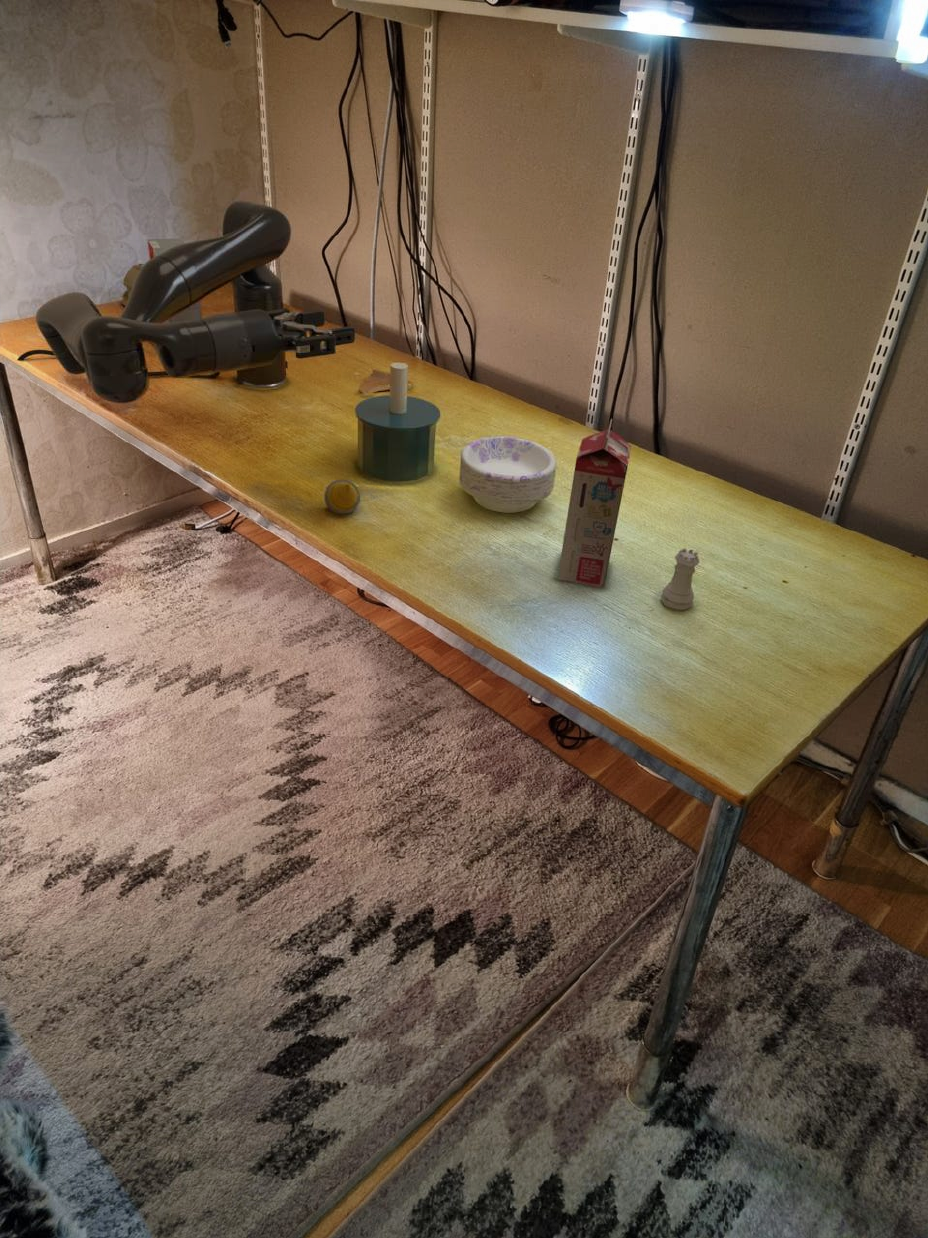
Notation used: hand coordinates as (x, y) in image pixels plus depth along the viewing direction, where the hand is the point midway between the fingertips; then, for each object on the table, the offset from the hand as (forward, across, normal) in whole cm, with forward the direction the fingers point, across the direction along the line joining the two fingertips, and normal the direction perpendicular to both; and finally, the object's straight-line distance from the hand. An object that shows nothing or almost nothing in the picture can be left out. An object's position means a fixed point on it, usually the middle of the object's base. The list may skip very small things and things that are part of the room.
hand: (338, 325), depth 128 cm
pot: (+11, 0, -25) cm, 28 cm away
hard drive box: (+5, -75, -26) cm, 79 cm away
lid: (+11, 0, -16) cm, 19 cm away
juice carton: (+15, +42, -26) cm, 51 cm away
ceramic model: (+8, -102, -26) cm, 106 cm away
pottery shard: (+30, -31, -26) cm, 50 cm away
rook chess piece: (+21, +54, -26) cm, 64 cm away
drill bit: (-5, +10, -26) cm, 28 cm away
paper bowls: (+20, +19, -26) cm, 37 cm away
